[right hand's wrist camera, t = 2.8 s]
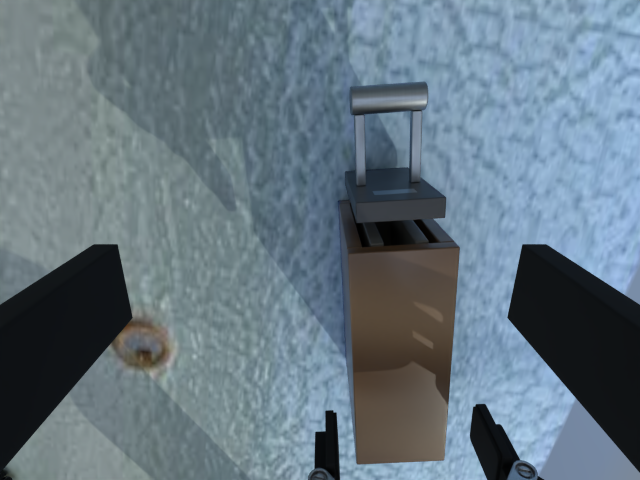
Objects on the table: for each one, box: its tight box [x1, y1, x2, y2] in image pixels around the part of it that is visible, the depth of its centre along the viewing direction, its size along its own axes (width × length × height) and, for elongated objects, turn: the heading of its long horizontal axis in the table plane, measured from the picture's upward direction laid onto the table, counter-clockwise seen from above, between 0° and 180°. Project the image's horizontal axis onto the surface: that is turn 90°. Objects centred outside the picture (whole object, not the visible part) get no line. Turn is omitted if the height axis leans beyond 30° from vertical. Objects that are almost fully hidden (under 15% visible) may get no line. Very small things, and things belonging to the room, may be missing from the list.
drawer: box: [345, 82, 446, 247], centre depth 26 cm, size 21×5×10 cm, turn 4°
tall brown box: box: [338, 200, 460, 464], centre depth 29 cm, size 16×6×11 cm, turn 4°
